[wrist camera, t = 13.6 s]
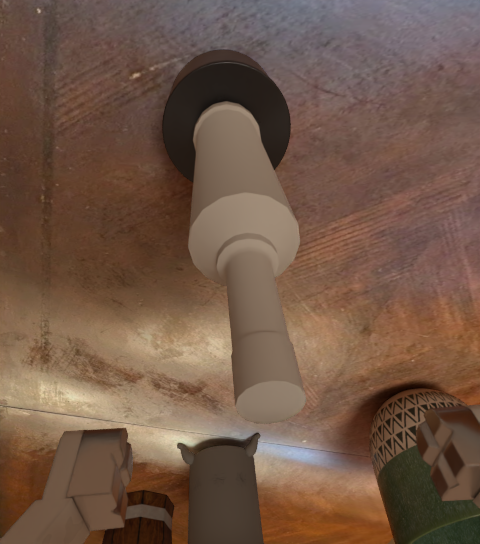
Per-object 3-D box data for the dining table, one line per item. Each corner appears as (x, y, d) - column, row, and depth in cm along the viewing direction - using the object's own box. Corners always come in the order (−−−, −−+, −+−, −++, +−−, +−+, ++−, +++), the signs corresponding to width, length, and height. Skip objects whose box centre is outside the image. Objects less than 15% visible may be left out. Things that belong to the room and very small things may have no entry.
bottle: (184, 151, 32) (157, 438, 12) (206, 87, 29) (219, 319, 9) (243, 173, 33) (306, 460, 13) (269, 113, 31) (397, 363, 11)
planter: (340, 435, 73) (383, 576, 55) (364, 365, 61) (428, 516, 44) (441, 430, 74) (513, 565, 57) (482, 361, 63) (588, 505, 46)
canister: (145, 88, 35) (135, 109, 30) (244, 22, 33) (253, 31, 27) (205, 180, 41) (206, 212, 35) (294, 129, 39) (310, 155, 33)
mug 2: (164, 464, 74) (150, 645, 54) (192, 420, 66) (188, 612, 46) (254, 477, 79) (272, 645, 59) (289, 438, 72) (323, 616, 52)
